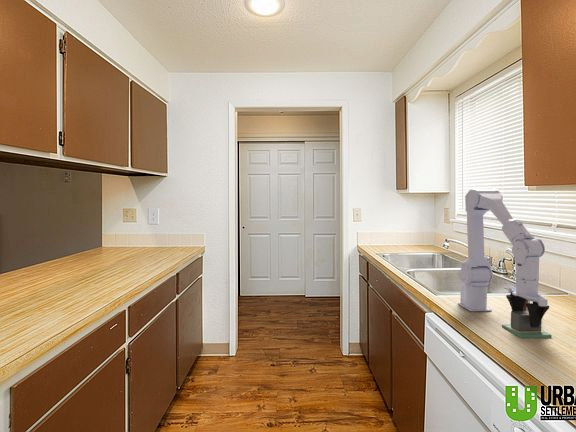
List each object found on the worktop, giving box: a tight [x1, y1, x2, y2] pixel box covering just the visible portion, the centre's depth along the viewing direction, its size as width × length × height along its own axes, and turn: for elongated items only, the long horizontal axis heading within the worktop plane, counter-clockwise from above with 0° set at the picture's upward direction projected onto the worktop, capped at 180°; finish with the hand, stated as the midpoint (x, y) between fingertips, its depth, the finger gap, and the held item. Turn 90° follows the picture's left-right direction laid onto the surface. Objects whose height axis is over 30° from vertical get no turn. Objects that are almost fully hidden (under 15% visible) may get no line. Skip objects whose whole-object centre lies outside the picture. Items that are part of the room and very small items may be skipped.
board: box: [501, 323, 552, 339], centre depth 108 cm, size 9×9×3 cm
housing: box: [510, 310, 543, 332], centre depth 108 cm, size 4×7×5 cm, turn 90°
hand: (525, 322), depth 108 cm, fingers open, 7 cm apart
